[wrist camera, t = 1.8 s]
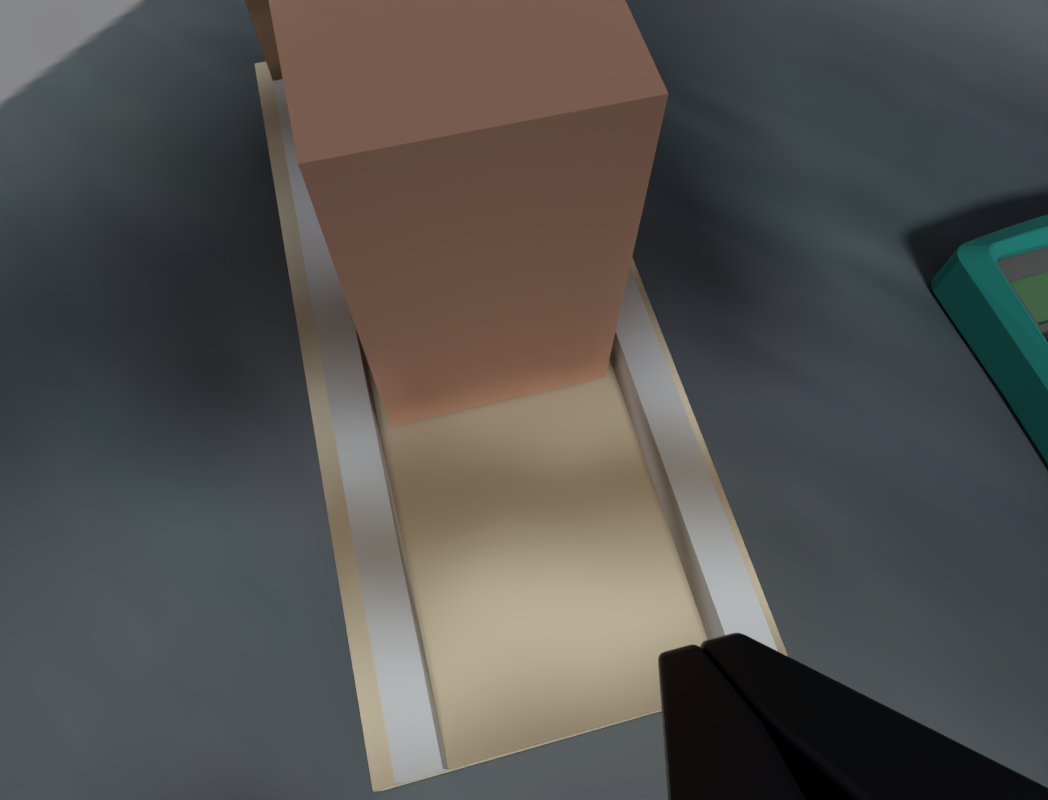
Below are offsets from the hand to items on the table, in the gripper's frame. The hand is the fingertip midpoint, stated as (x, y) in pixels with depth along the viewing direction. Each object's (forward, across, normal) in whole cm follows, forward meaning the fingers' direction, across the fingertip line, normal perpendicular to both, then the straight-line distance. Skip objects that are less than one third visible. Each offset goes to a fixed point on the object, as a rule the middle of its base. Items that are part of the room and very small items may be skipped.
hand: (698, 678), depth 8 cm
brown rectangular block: (+16, 0, 0) cm, 16 cm away
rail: (+17, 0, +1) cm, 17 cm away
